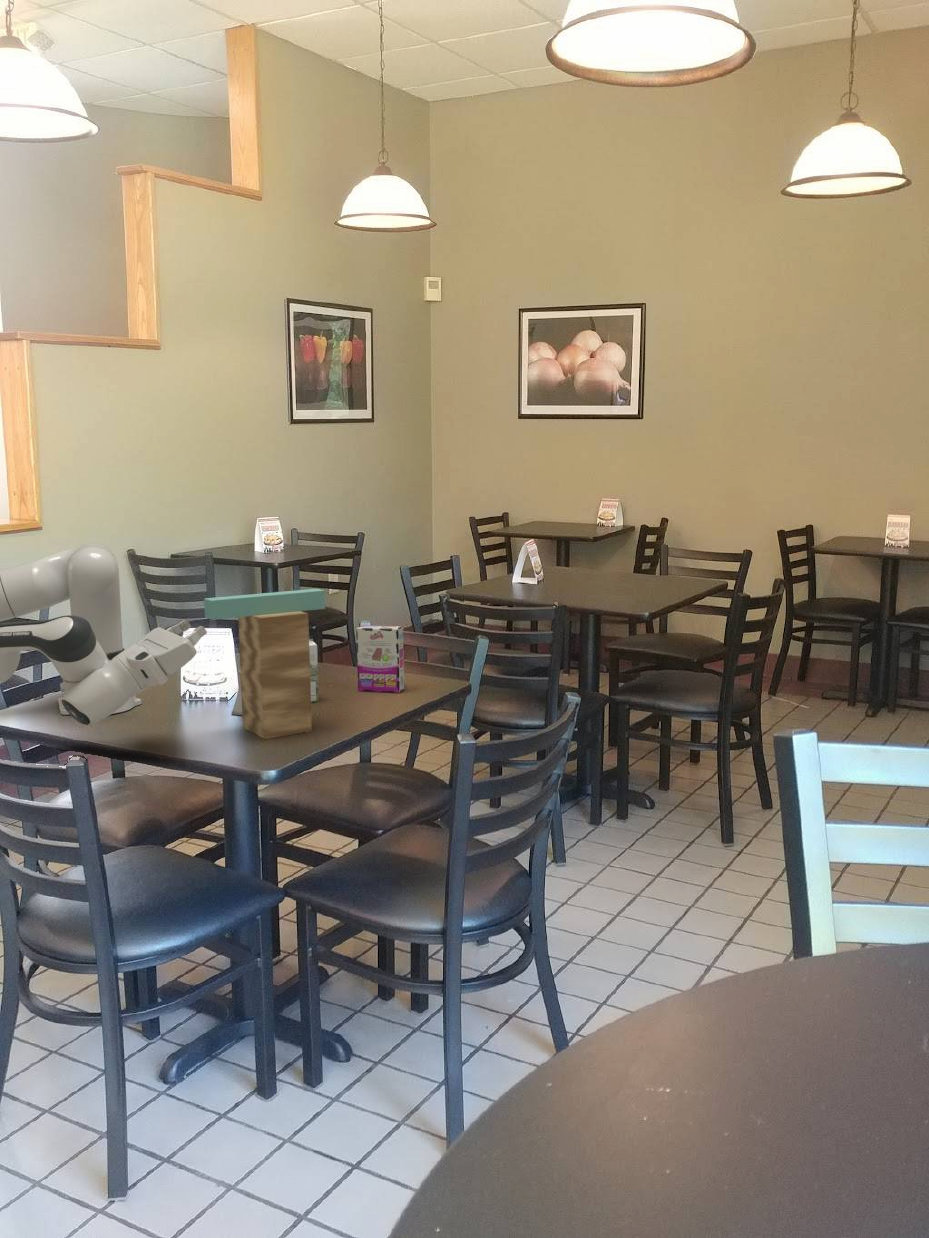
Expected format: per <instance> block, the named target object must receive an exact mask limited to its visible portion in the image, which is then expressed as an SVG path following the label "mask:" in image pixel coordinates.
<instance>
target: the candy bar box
mask: <svg viewBox="0 0 929 1238" xmlns="http://www.w3.org/2000/svg"><path fill="white" fill-rule="evenodd" d="M355 630H356V633H355V634H356V636H355V637H356V659H357V660H356V662H357V663H356V664H357V691H358V692H366V693H367V692H368V693H386V694H390V693H391V694H399V693H401V692H402V690H403V689H404V690H405V687H406V686H405V657H404V656H405V653H404V651H405V649H404V626H400V625H399V626H398V625H360V626H359V627H356V629H355ZM404 690H403V691H404Z"/></svg>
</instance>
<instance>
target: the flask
mask: <svg viewBox="0 0 929 1238" xmlns="http://www.w3.org/2000/svg"><path fill="white" fill-rule="evenodd" d="M238 674H239V685H238V691H237V694H236V697H235V700H234V704H233V707H232V710H231V715H237V716H242V694H241V670H240V669H239V670H238Z"/></svg>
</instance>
